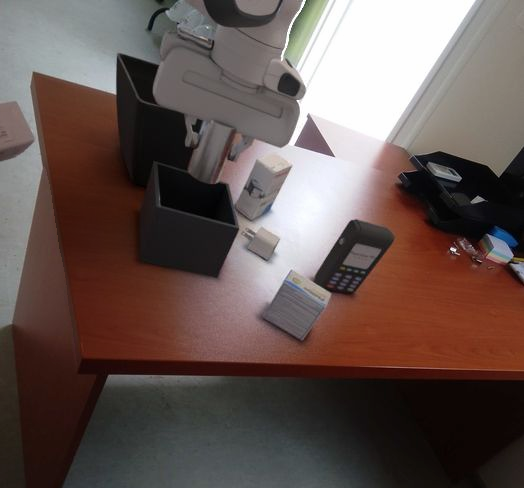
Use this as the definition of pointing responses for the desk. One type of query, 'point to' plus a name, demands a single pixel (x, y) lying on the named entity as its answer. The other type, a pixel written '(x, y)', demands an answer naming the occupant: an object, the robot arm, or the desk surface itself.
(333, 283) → the card reader
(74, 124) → the desk surface
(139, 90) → the flower pot
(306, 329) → the medicine box
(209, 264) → the trash bin
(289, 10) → the robot arm
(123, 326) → the desk surface
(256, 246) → the usb wall charger
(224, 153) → the drink can
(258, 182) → the ink box
